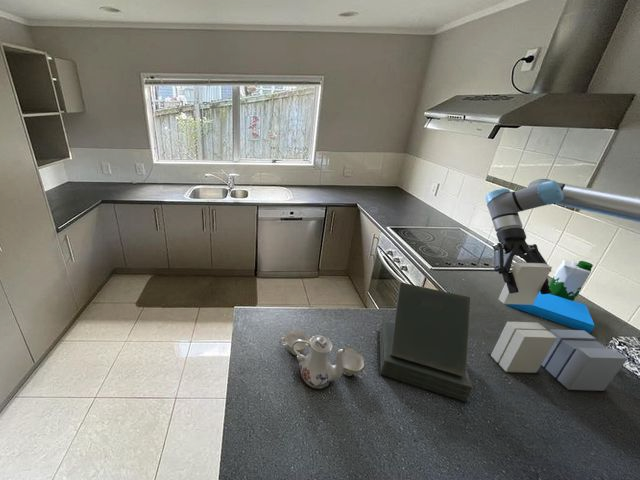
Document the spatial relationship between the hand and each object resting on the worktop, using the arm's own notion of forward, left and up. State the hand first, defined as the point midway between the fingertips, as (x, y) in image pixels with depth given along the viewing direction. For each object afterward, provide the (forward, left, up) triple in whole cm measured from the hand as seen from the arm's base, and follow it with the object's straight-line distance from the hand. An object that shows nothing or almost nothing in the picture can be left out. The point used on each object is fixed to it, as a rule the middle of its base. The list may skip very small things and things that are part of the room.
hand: (530, 293), depth 92 cm
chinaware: (+36, +61, -23) cm, 75 cm away
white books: (-4, +8, -23) cm, 25 cm away
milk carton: (-9, -56, -23) cm, 61 cm away
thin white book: (+2, -2, -6) cm, 7 cm away
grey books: (-16, -2, -23) cm, 28 cm away
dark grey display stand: (+17, +33, -23) cm, 44 cm away
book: (-6, -41, -23) cm, 47 cm away
